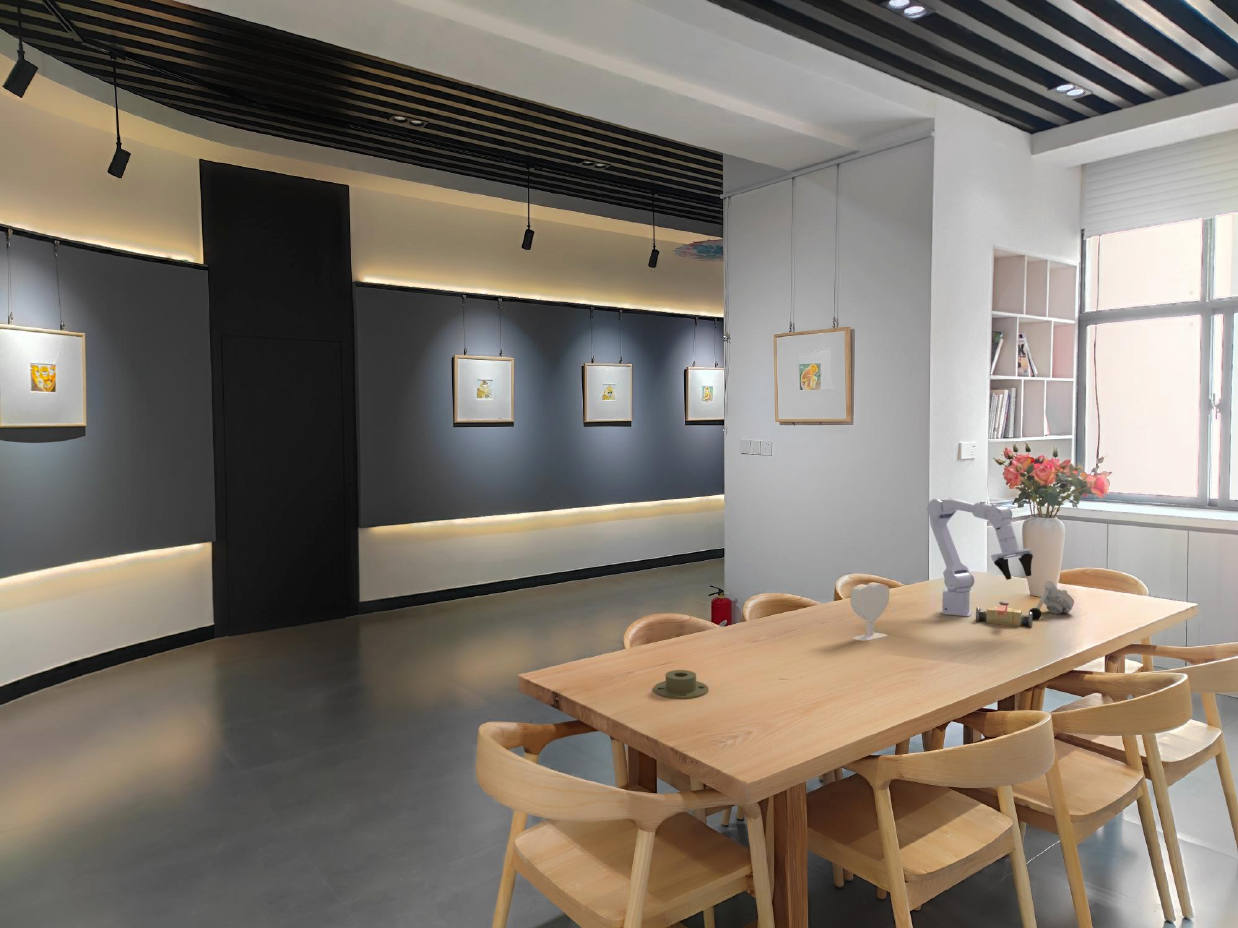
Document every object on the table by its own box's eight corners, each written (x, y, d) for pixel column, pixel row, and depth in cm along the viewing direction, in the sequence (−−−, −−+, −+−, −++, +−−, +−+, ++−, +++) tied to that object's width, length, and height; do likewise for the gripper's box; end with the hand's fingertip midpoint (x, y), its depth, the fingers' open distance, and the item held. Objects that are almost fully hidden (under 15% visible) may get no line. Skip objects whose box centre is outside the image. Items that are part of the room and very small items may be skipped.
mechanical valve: (1079, 606, 302) (1063, 578, 297) (1061, 643, 294) (1044, 615, 289) (1052, 603, 311) (1036, 576, 306) (1034, 639, 303) (1017, 612, 298)
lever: (999, 607, 292) (999, 601, 292) (1009, 607, 290) (1009, 602, 290) (996, 614, 280) (996, 608, 280) (1005, 615, 279) (1005, 609, 279)
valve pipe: (975, 625, 292) (975, 608, 292) (977, 621, 297) (977, 604, 297) (1031, 630, 283) (1031, 613, 283) (1032, 627, 288) (1032, 609, 288)
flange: (704, 665, 230) (651, 667, 230) (711, 682, 215) (655, 684, 215) (704, 681, 231) (651, 683, 230) (712, 699, 216) (656, 701, 215)
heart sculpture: (879, 631, 281) (879, 580, 280) (891, 634, 276) (891, 582, 276) (848, 638, 273) (848, 585, 272) (859, 641, 268) (859, 588, 267)
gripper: (994, 540, 280) (1006, 579, 276) (1032, 534, 282) (1044, 572, 279) (983, 544, 287) (995, 582, 283) (1020, 538, 289) (1032, 575, 285)
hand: (1019, 577), depth 281 cm, fingers open, 7 cm apart
